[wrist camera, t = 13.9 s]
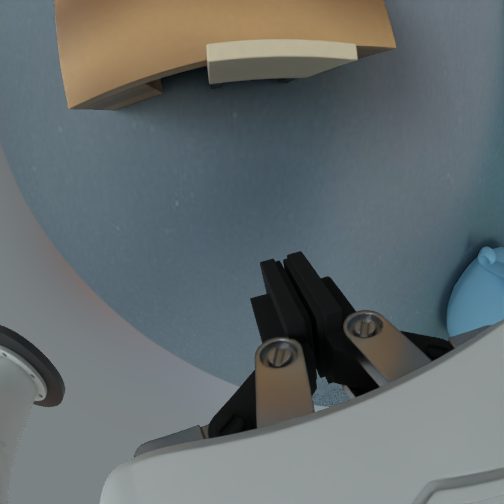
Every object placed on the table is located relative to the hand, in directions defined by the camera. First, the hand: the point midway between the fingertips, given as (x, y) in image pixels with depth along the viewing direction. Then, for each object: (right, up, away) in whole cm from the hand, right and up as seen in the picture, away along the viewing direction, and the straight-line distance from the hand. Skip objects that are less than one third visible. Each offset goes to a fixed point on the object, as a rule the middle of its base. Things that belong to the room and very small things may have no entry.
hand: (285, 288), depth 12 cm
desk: (-4, +19, +4) cm, 19 cm away
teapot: (+33, -2, +20) cm, 38 cm away
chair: (-2, +17, +6) cm, 18 cm away
